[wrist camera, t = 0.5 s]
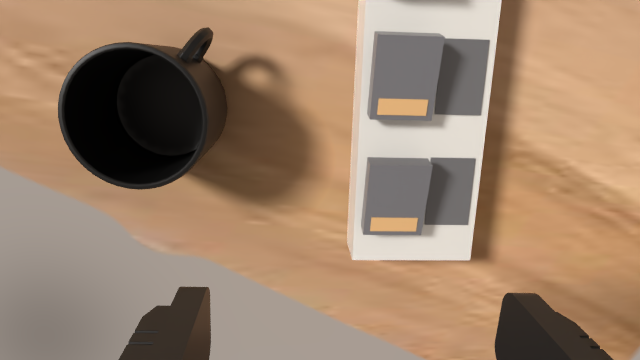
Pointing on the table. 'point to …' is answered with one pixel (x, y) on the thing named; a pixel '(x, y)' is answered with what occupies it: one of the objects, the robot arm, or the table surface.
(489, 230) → the table surface
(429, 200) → the power strip
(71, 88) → the mug
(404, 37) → the plate
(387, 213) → the block
